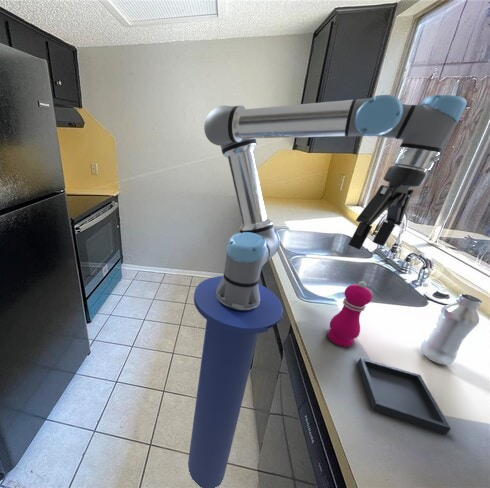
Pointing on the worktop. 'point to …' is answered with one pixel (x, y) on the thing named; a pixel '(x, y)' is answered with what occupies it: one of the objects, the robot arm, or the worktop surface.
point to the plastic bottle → (451, 329)
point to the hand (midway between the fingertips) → (366, 245)
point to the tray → (401, 395)
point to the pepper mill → (349, 315)
